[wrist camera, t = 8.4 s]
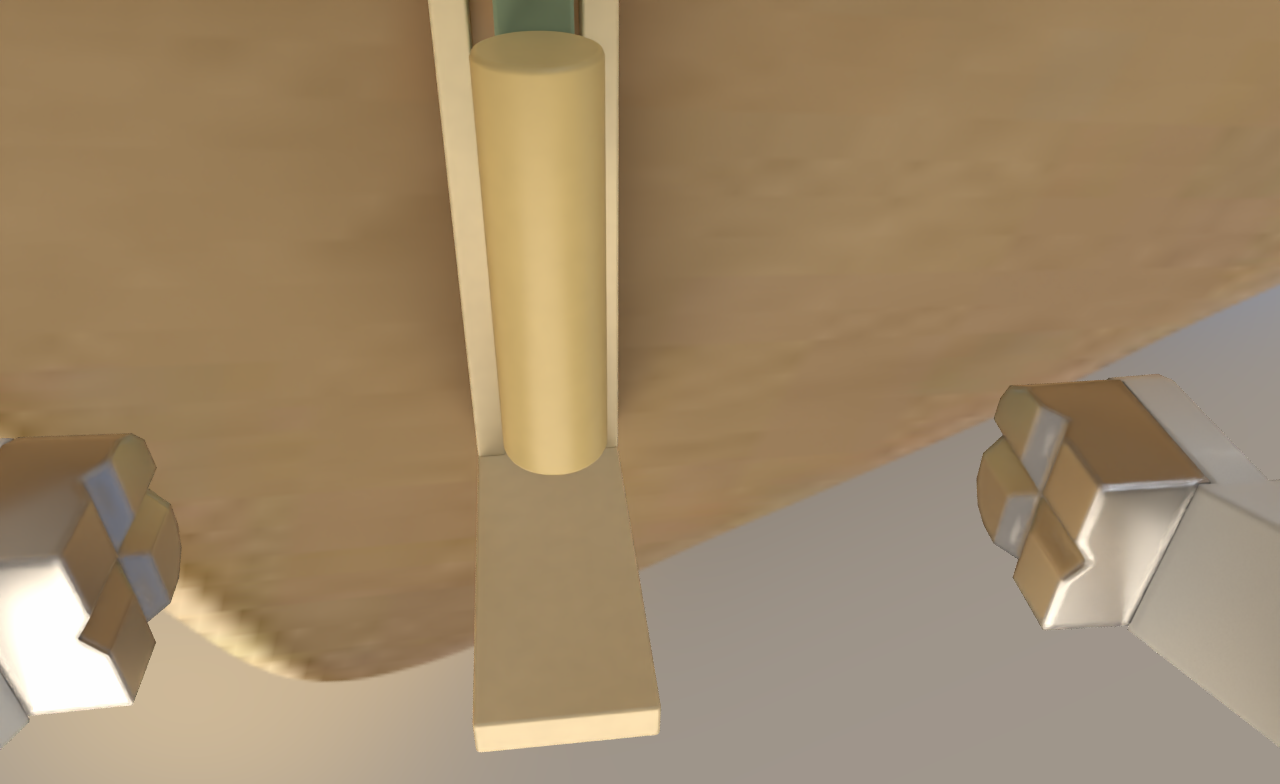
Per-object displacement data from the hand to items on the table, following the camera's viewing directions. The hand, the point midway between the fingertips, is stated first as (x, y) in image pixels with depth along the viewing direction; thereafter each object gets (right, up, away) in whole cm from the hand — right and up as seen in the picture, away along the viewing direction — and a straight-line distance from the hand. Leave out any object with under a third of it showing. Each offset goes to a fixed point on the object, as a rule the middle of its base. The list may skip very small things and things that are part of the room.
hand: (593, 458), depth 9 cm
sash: (-2, +8, +12) cm, 15 cm away
